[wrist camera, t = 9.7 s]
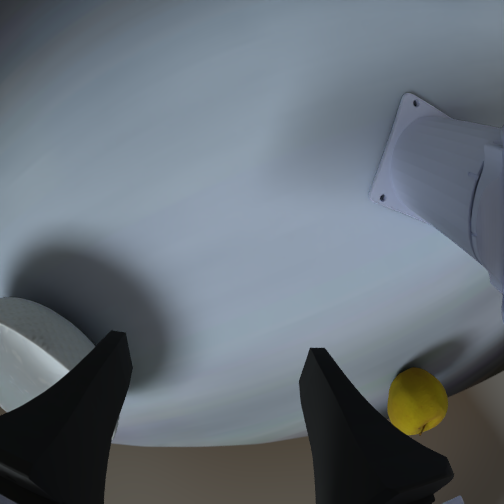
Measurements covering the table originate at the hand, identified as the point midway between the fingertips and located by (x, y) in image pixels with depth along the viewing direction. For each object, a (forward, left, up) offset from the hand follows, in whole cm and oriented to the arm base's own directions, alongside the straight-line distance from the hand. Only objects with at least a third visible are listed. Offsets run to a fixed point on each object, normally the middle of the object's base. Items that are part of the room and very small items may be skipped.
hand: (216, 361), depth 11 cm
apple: (-22, +10, -11) cm, 26 cm away
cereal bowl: (+14, +15, -11) cm, 23 cm away
